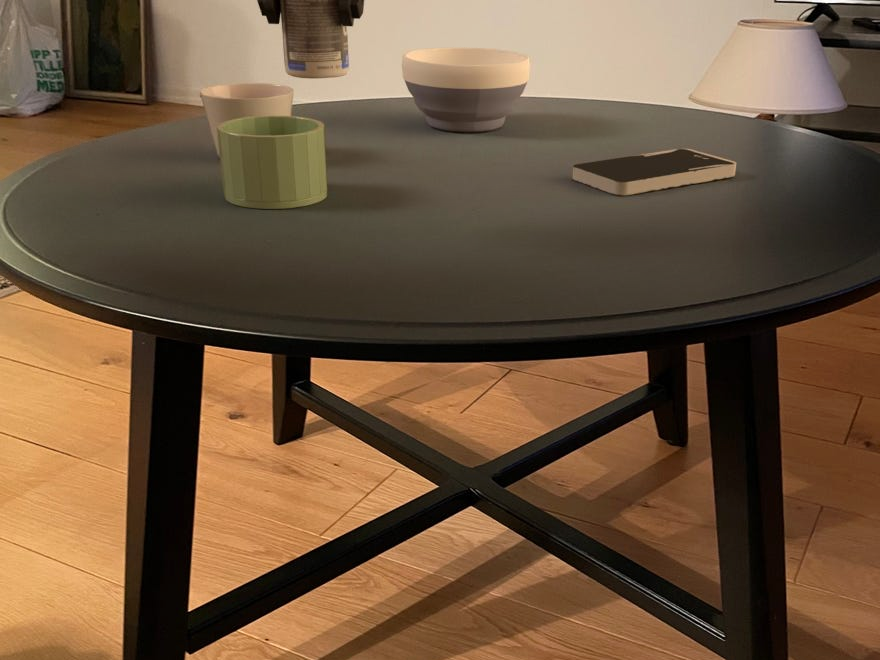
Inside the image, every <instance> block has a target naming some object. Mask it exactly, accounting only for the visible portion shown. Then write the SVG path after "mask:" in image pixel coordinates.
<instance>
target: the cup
mask: <svg viewBox="0 0 880 660" xmlns="http://www.w3.org/2000/svg"><path fill="white" fill-rule="evenodd" d="M217 134H218V144H219V154H220V157H219V163H220V172H221V181H222V183H221V184H222V189H223V190H222V191H223V195H224V200H226V202H228V203H230V204H232V205H235V206H238V207H241V208H247V209H257V210H284V209H285V210H286V209H293V208H296V209H297V208H302V207H307V206H311V205H314V204H318V203H320V202H322V201H325V199H326V198H327V197H328V187H329V184H328V183H329V182H328V168H327V167H328V166H327V148H326V147H327V146H326V129H325V123H323V121H320V120H318V119H314V118H311V117H304V116H296V115H291V116H277V115H269V116H253V117H252V116H251V117H243V118H237V119H232V120H228V121H225V122H223V123H220V124H219V125H218V126H217Z"/></svg>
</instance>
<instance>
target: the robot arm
mask: <svg viewBox="0 0 880 660" xmlns="http://www.w3.org/2000/svg"><path fill="white" fill-rule="evenodd" d="M256 1H257V5H258V8H259V11H260V13H261V16H262V17H265V18H266V21H267V24H268V25H279V24H280V21H281V10H280V0H256ZM364 7H365V0H339V11H340V16H341V20H342V25H343V26H347V27H354V22H355V20H356V19H359V20H360V19H361V18H362V16H363V14H364V9H365V8H364Z"/></svg>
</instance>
